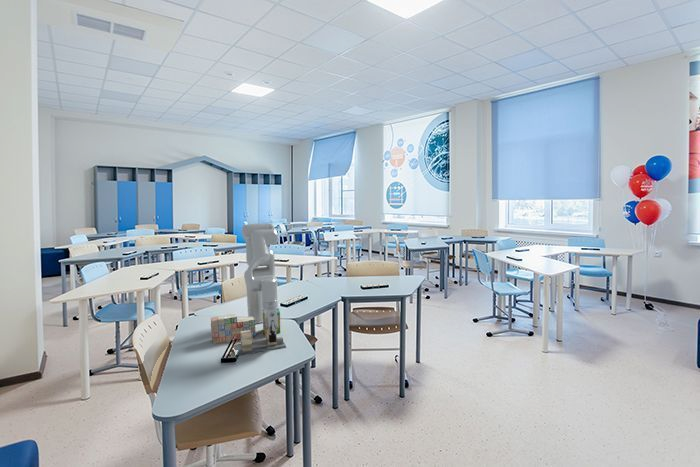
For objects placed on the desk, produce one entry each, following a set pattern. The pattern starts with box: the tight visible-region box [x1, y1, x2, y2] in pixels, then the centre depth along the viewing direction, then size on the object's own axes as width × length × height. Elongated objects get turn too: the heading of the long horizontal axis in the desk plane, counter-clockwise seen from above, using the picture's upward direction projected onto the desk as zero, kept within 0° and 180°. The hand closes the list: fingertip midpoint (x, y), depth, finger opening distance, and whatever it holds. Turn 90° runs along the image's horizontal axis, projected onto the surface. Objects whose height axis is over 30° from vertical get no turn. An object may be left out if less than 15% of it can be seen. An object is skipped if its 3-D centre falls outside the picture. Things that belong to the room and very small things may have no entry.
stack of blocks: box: [210, 313, 256, 344], centre depth 196 cm, size 21×6×12 cm, turn 115°
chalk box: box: [262, 307, 281, 335], centre depth 205 cm, size 9×9×15 cm
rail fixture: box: [233, 330, 287, 357], centre depth 182 cm, size 9×24×9 cm, turn 112°
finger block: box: [264, 326, 278, 345], centre depth 184 cm, size 5×5×8 cm
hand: (271, 339), depth 184 cm, fingers closed on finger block, 5 cm apart
